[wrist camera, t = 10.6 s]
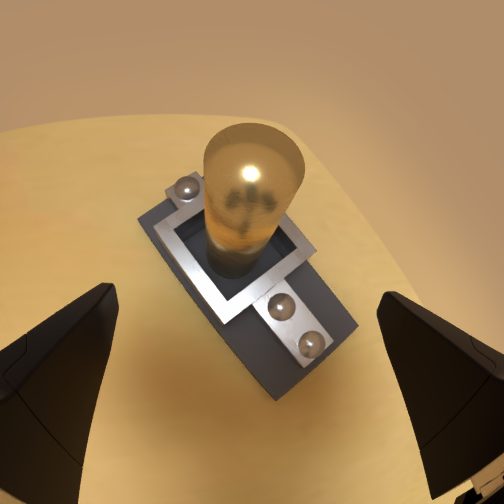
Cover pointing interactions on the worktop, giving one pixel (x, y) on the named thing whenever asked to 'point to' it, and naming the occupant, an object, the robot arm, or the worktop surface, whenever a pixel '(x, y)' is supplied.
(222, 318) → the grey framed plate
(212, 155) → the amber cylinder
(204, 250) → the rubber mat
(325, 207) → the worktop surface
